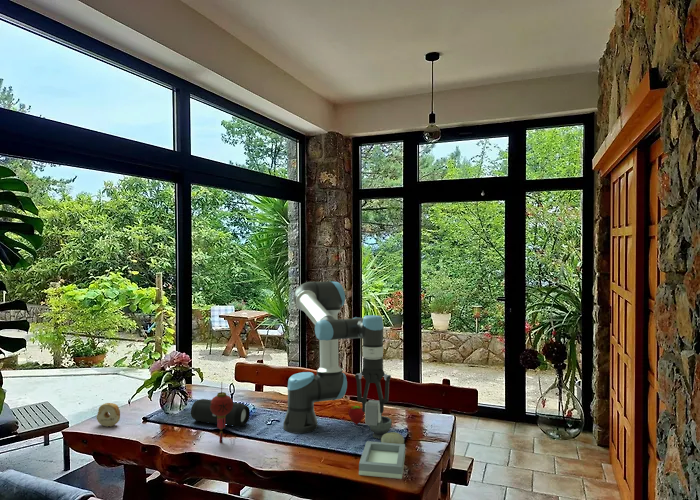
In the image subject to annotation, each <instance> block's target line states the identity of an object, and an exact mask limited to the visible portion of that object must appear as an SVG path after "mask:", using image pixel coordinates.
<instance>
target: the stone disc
mask: <svg viewBox="0 0 700 500" xmlns="http://www.w3.org/2000/svg"><path fill="white" fill-rule="evenodd" d="M120 419H121V409H120V407H119V405H117V404H116V403H114V402H113V403H112V402H105V403H103V404H101V405H99V407H98V412H97V414H96V420H97V422H98V423H99V425H100V426H101V425H102V426H103V427H108V426H110V427H113V426H115V425H116V424H118V423H119V421H121V420H120Z"/></svg>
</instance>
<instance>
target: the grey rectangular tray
mask: <svg viewBox="0 0 700 500" xmlns="http://www.w3.org/2000/svg"><path fill="white" fill-rule="evenodd" d="M405 457H406V444H405V443H404V444H396V443H384V442H381V441H370V440H367V441H366V443H365V445H364V448H363V451H362V454H361V456H360V459H359V463H358V476H366V477H367V476H368V477H377V478H378V477H379V478H388V479H389V478H390V479H398V480H399V479H401V480H402V479H403V473H404V467H405V460H406V458H405Z"/></svg>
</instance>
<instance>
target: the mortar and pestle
mask: <svg viewBox="0 0 700 500" xmlns="http://www.w3.org/2000/svg"><path fill="white" fill-rule="evenodd" d="M382 414H383V413H381V421H380V423H378V421H377V425H376V426H373V425H368V426H369V429H370V431H371V432H372V437H373V438H374V439H377V438H378V439H379V440H381V438H382V436H383V435H384V434H386V433H390V429H391V427H392V424H393V423H392V419H391V418H390V417H389V416H384V415H382Z"/></svg>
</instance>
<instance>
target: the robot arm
mask: <svg viewBox="0 0 700 500" xmlns="http://www.w3.org/2000/svg"><path fill="white" fill-rule="evenodd" d="M293 302H294V304H295V306H296V307H297V308H298V310H299V311H302V312H304V313H305V315H306V316H307V317H308V318H309V319H310V321H311V322H312V323H313V325H314V333H315V336H316V337H315V338H316V339H317V340H319V368H317V370H316V374H315V373H313V372H310V371H302V372H298V373H294V374H292V375H291V376H290V377H289V378H288V381H287V411H286V414H285V417H284V420H283V427H282V428H283V429H284V430H285V431H286V432H289V433H294V434H304V433H310V432H313V431H316V430H317V428H318V419H317V415H316V412H315V409H314V408H315V405H314V404H315V403H319V402H327V401H336V400H340V399H342V398H344V396H345V395H346V392H347V389H348V381H347V380H348V379H347V376H346V374H345V373H344V372H343V368H341V367H340V366H339V340H345V339H346V340H347V339H349V340H350V339H362V356H363V358H362V370H361V372H359V373H358V372H357V373H356V374H355V375H354V377H355V380H356V400H357V402H360V403H361V405H362V406H361V408H362V411H363V412H365V414H364V422H365V423H366V404H367V403H368V401H367V399H368V394H369V390H370V384H375V386H376V392H377V396H378V401H379V403H378V423H380V421H381V413H382V414H383V413H384V411H385V410H384V408H385V407H384V405H385V404H388V402H389V397H390V395H389V394H390V381H391V377H392V375H391V374H387V373H385V371H384V358H383V357H384V321H383V320H384V319H383V317H382V316H381V315H376V314H368V315H364V316H363V317H357V316H355V317H353V318H343V319H341V318H340V319H338V314H339V313H340V311H341V309H342V308H341V307H343V306H344V305H345V302H346V293H345V290H344V287H343V286H342V284H341V283H340V282H338V281H330V280H329V281H307V282H304V283H302V284H300V285H299V286H298V287H297V288H296V289H295V291H294V294H293ZM362 378H363V379H364V380H365V386H364V390H363V395H362ZM382 378H383V379H384V381H385V383H384V395H383V391H382V385H381V380H382Z"/></svg>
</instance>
